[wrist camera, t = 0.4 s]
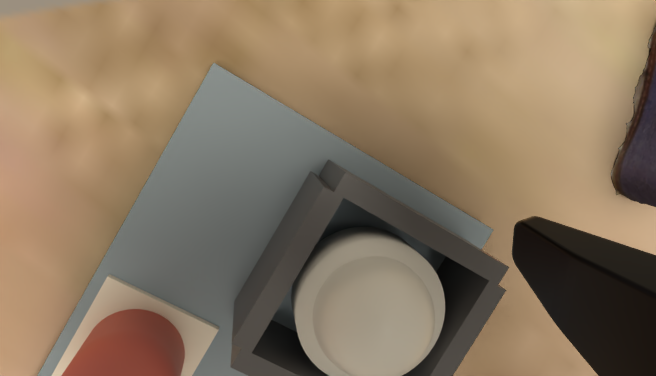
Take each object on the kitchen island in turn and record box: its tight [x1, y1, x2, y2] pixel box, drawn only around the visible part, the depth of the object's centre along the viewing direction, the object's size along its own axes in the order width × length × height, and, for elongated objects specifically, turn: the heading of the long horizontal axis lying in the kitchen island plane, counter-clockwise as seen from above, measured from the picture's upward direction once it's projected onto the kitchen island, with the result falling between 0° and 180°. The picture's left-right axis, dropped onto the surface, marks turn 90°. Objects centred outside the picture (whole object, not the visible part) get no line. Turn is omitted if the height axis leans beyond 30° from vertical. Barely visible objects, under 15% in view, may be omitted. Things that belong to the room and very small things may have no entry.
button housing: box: [230, 159, 509, 376], centre depth 21 cm, size 8×8×4 cm
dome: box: [291, 227, 445, 376], centre depth 19 cm, size 6×6×4 cm
